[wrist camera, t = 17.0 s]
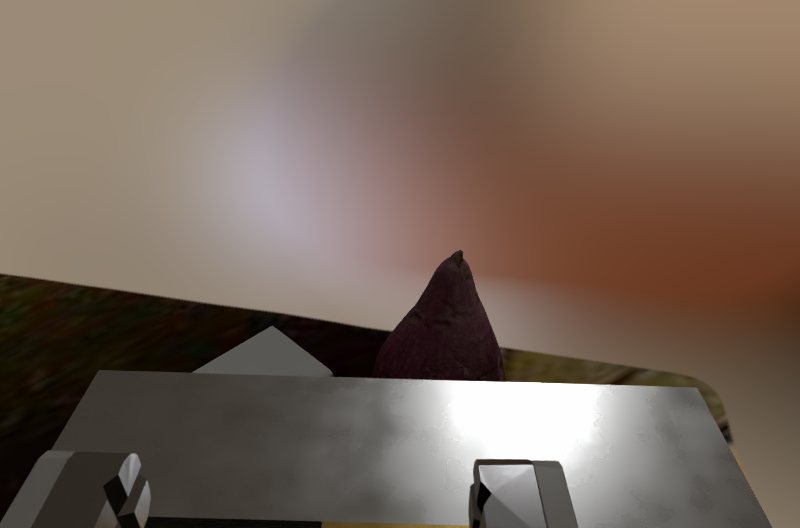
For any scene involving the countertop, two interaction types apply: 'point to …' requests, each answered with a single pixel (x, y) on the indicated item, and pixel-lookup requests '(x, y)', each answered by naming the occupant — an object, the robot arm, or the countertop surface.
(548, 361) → the countertop surface
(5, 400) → the countertop surface
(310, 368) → the external hard drive
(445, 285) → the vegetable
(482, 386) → the miniature grey desk
